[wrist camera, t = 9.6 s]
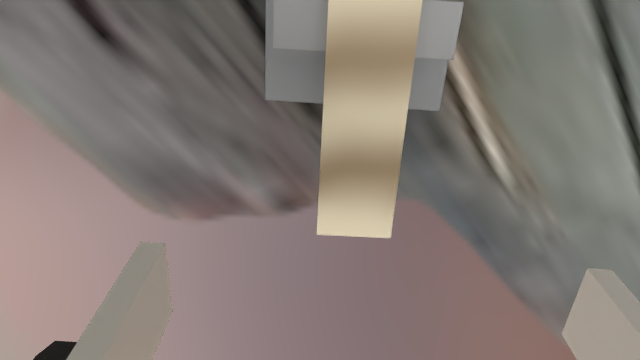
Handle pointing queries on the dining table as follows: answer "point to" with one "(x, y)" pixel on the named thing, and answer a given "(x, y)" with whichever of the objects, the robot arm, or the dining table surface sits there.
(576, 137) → the dining table surface
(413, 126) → the dining table surface
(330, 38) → the bar
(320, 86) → the fulcrum
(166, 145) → the dining table surface
